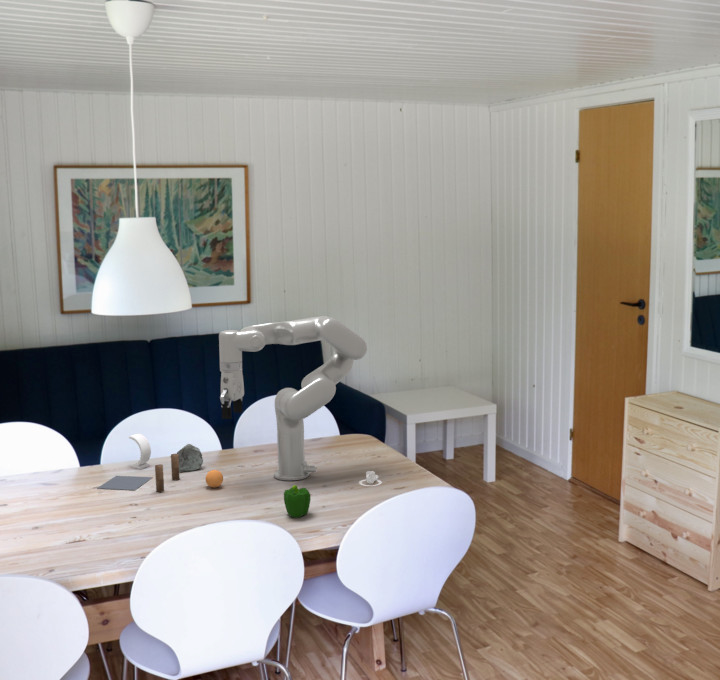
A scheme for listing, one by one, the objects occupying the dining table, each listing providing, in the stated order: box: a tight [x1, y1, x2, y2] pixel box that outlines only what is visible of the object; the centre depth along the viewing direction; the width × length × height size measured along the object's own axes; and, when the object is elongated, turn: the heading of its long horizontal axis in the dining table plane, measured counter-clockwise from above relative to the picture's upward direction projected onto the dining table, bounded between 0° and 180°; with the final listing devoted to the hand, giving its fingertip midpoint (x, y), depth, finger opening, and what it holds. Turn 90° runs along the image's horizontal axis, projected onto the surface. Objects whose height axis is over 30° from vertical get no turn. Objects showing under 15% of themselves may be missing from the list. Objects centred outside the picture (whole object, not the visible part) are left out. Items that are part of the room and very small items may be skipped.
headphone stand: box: [128, 433, 152, 470], centre depth 304 cm, size 5×6×12 cm
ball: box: [205, 469, 224, 489], centre depth 279 cm, size 6×6×6 cm
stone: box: [176, 443, 204, 473], centre depth 301 cm, size 10×10×10 cm
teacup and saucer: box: [358, 470, 383, 487], centre depth 282 cm, size 9×8×4 cm
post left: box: [154, 464, 165, 493], centre depth 276 cm, size 3×3×9 cm
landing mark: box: [96, 475, 154, 491], centre depth 285 cm, size 14×14×1 cm
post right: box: [170, 453, 180, 481], centre depth 288 cm, size 3×3×9 cm
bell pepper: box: [283, 484, 311, 518], centre depth 251 cm, size 8×8×10 cm
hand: (232, 415), depth 280 cm, fingers open, 9 cm apart
